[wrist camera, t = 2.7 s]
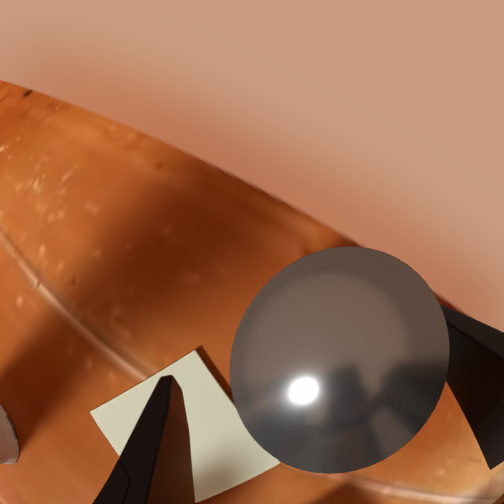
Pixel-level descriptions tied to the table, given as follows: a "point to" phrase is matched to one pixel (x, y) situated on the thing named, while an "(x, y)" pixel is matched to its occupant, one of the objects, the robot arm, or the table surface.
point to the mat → (194, 427)
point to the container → (7, 440)
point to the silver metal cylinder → (339, 360)
